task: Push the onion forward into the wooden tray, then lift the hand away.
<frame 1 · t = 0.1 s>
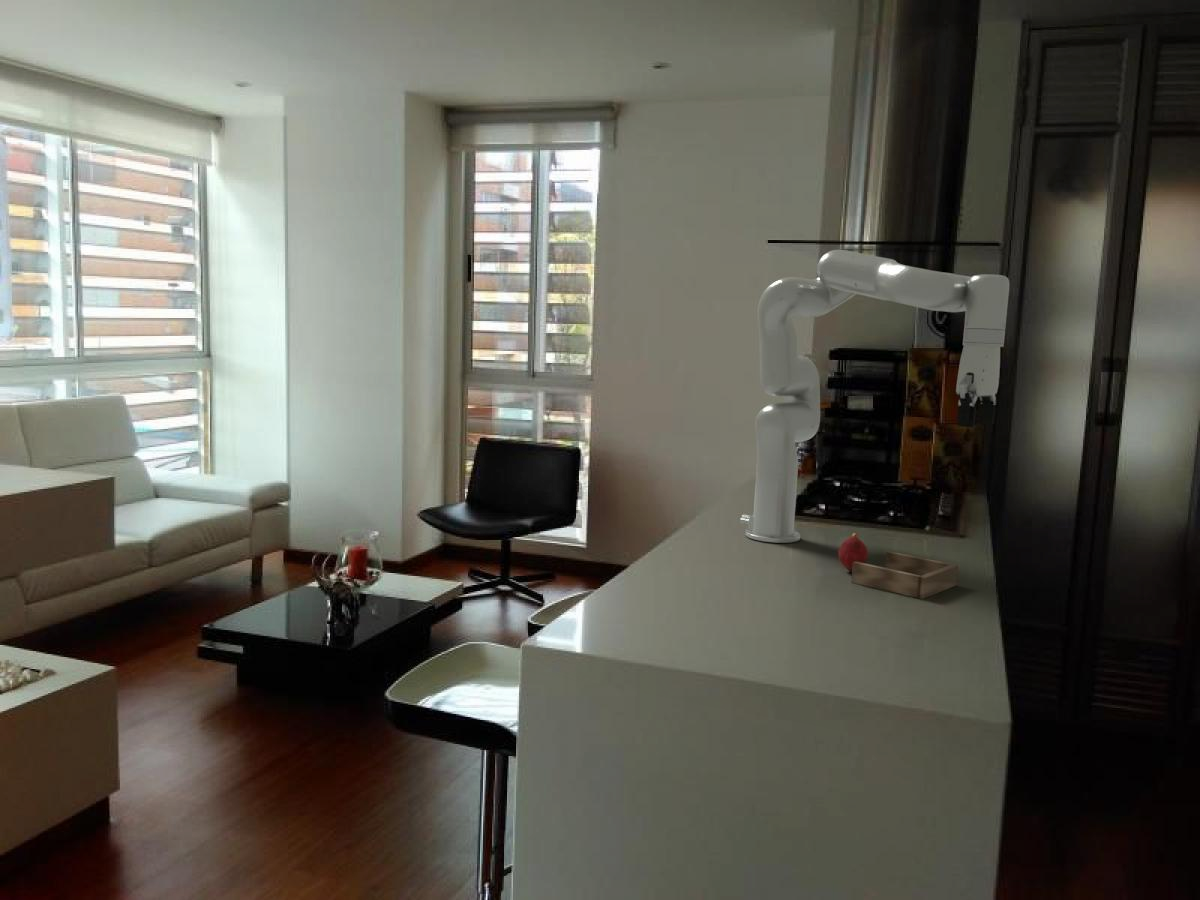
hand: (975, 425, 190), 31 cm above the countertop, tool pointing down, fingers open, 9 cm apart
wooden tray: (902, 583, 188), on the countertop
onion: (851, 572, 196), on the countertop
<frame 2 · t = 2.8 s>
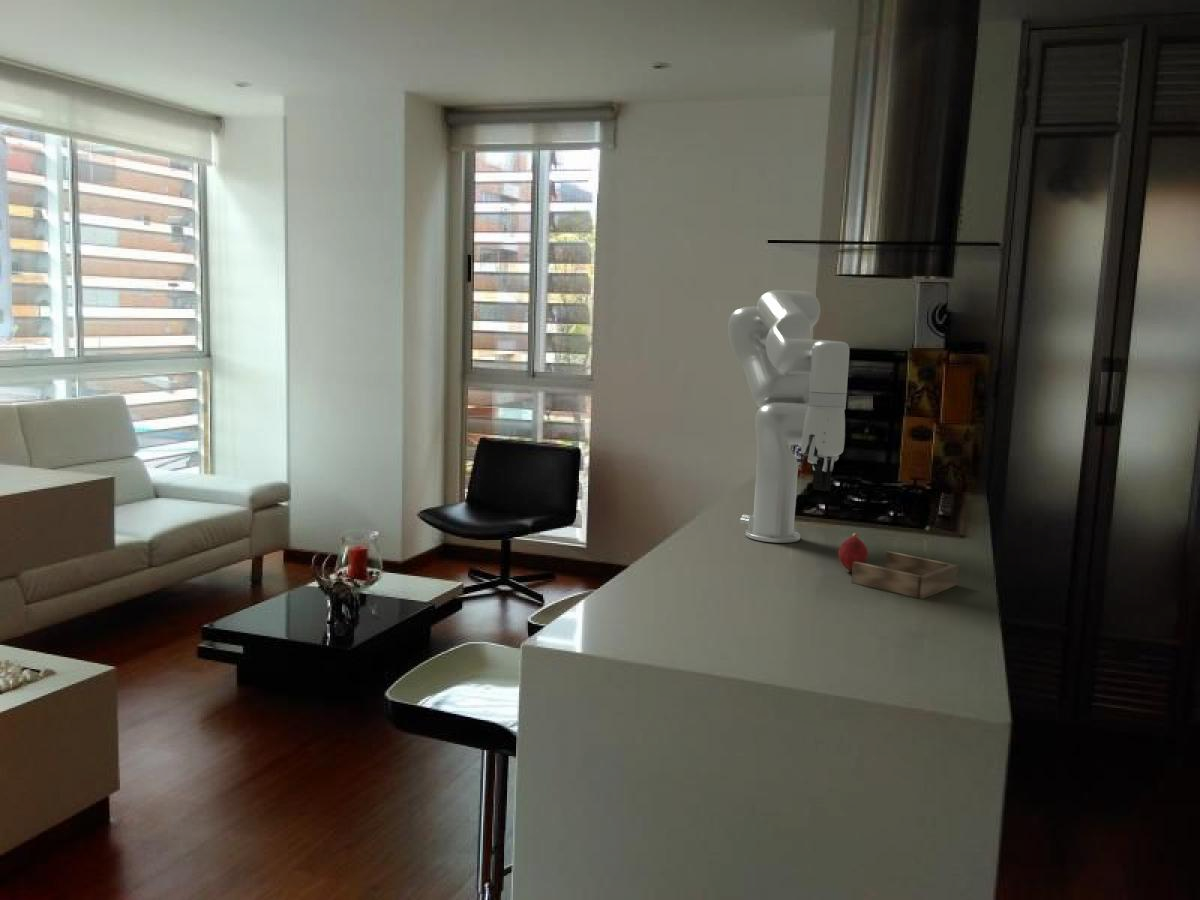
hand: (821, 489, 199), 16 cm above the countertop, tool pointing down, fingers closed
nothing on the countertop moved.
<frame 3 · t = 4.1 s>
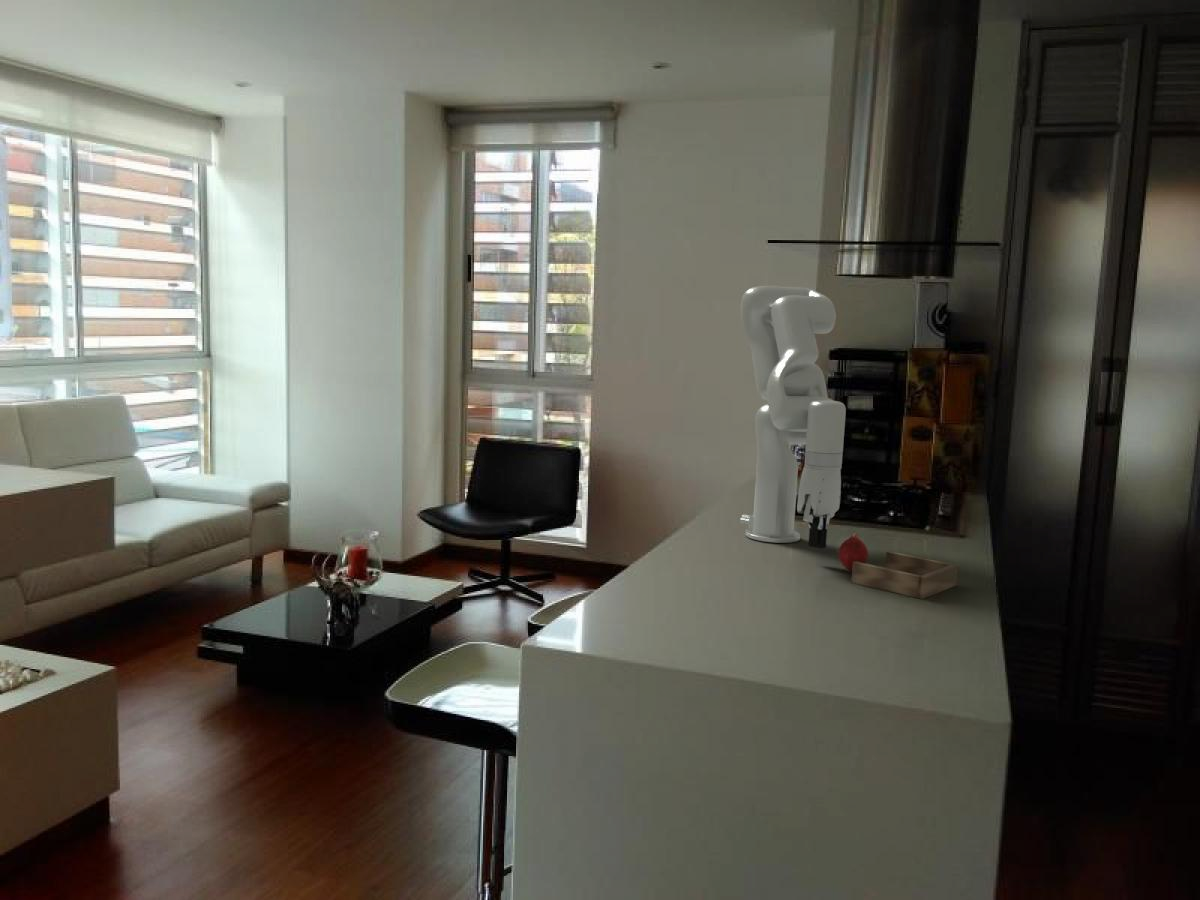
hand: (817, 546, 201), 4 cm above the countertop, tool pointing down, fingers closed
nothing on the countertop moved.
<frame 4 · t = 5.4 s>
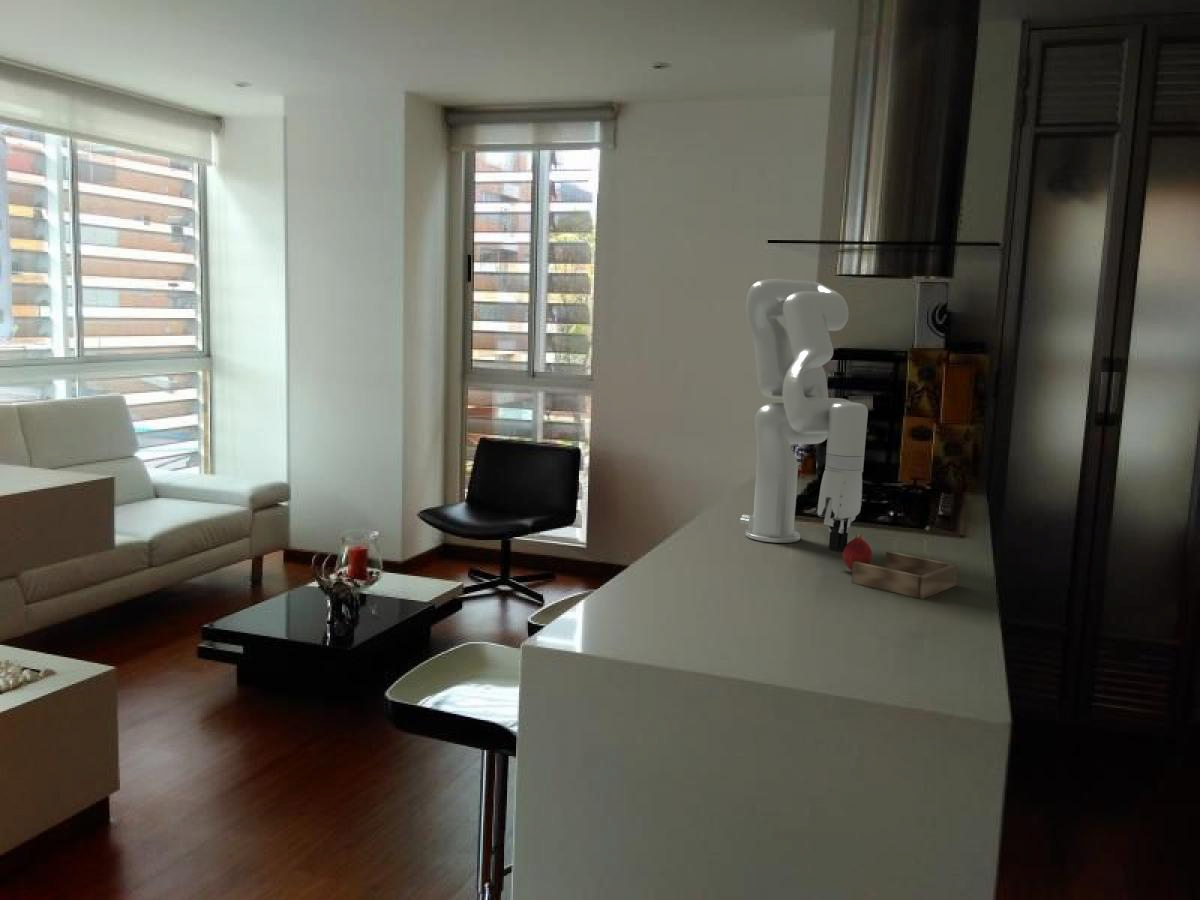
hand: (837, 550, 197), 4 cm above the countertop, tool pointing down, fingers closed
onion: (855, 573, 195), on the countertop, touching gripper
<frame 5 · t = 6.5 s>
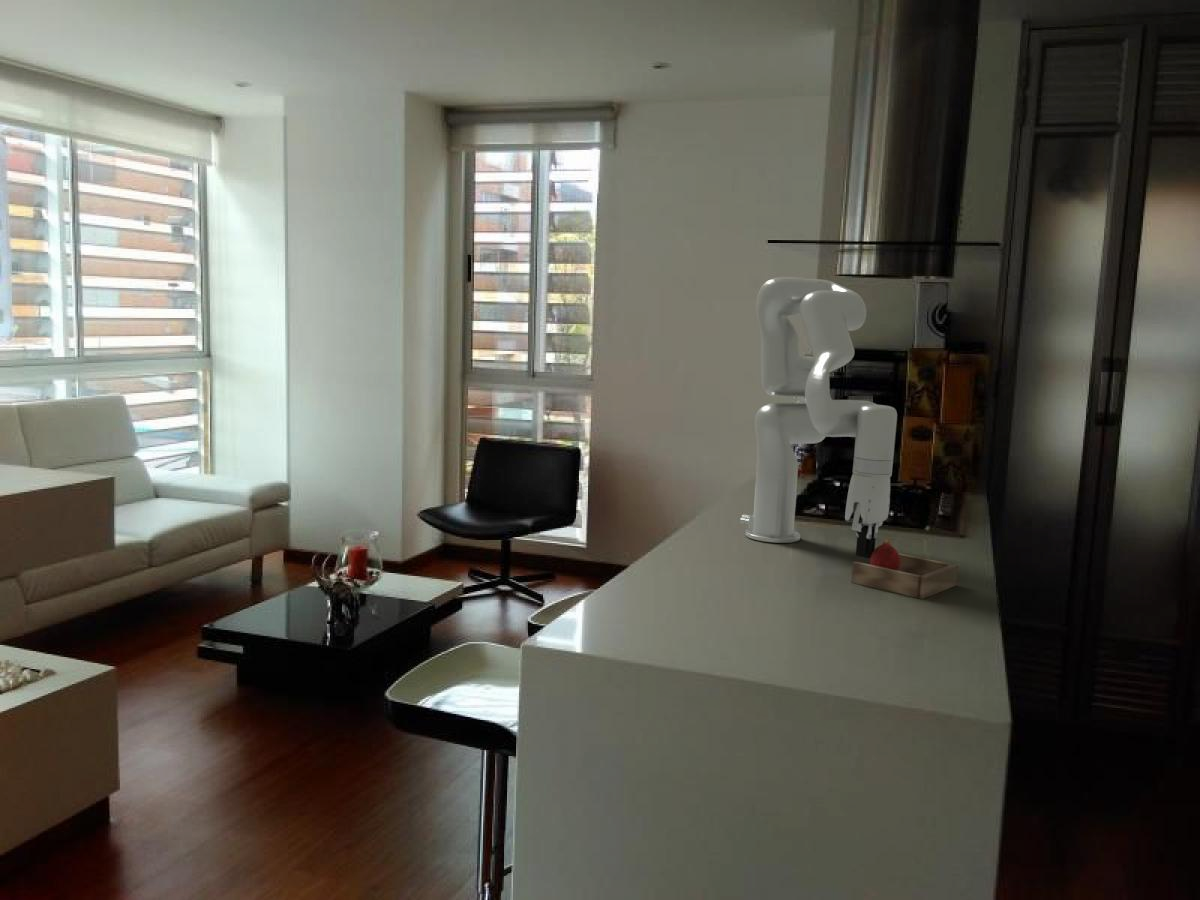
hand: (864, 556, 193), 4 cm above the countertop, tool pointing down, fingers closed
onion: (883, 580, 191), on the countertop, touching gripper
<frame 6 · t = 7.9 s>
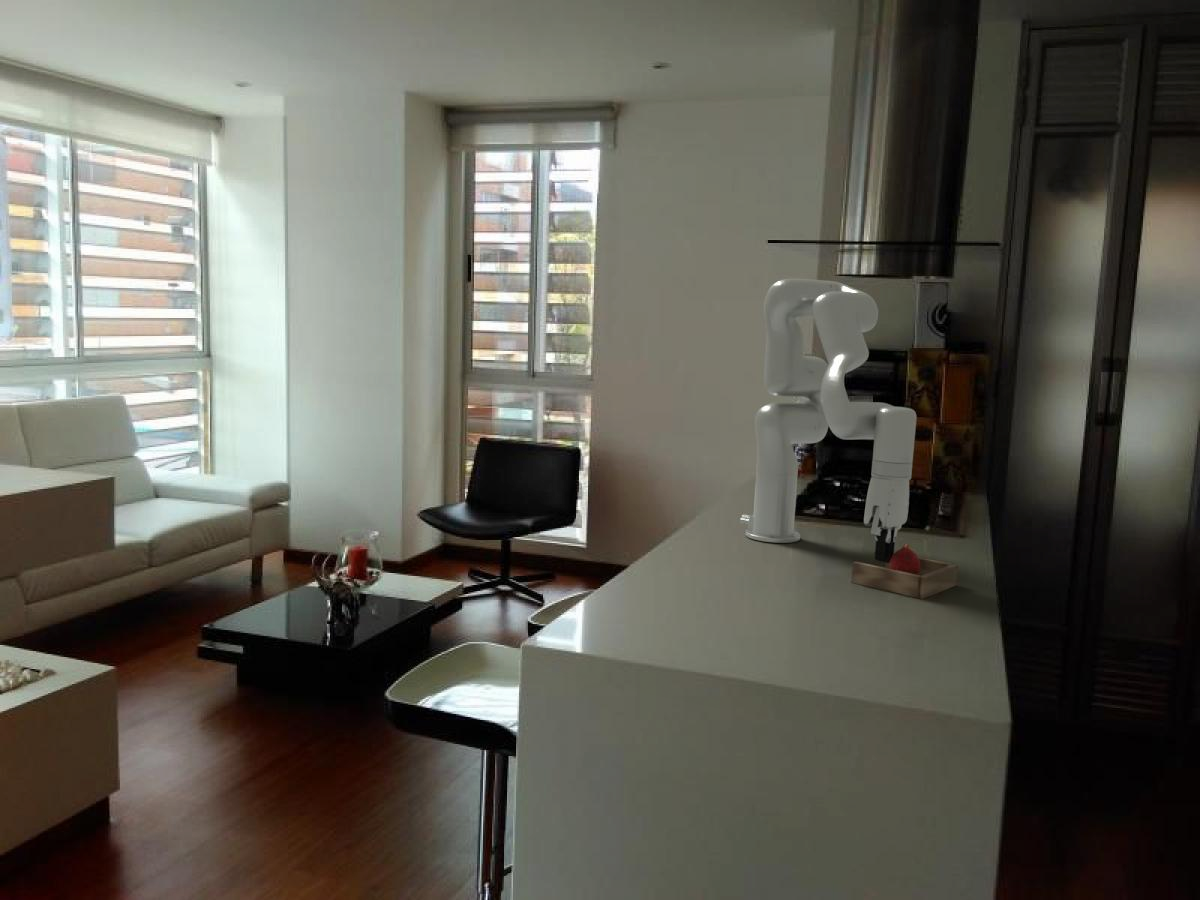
hand: (883, 560, 191), 4 cm above the countertop, tool pointing down, fingers closed
onion: (903, 584, 188), on the countertop, touching gripper
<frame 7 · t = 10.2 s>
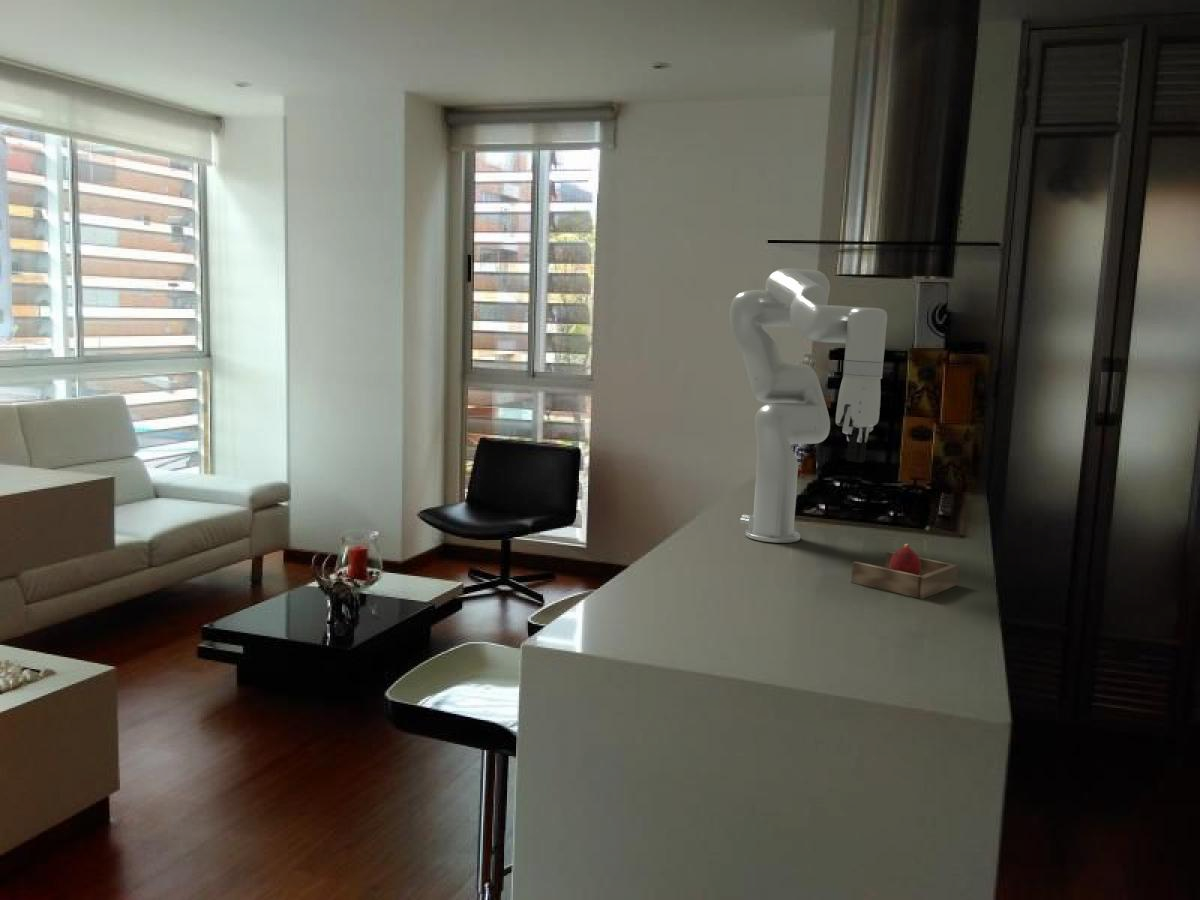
hand: (855, 461, 193), 23 cm above the countertop, tool pointing down, fingers closed
onion: (903, 584, 188), on the countertop
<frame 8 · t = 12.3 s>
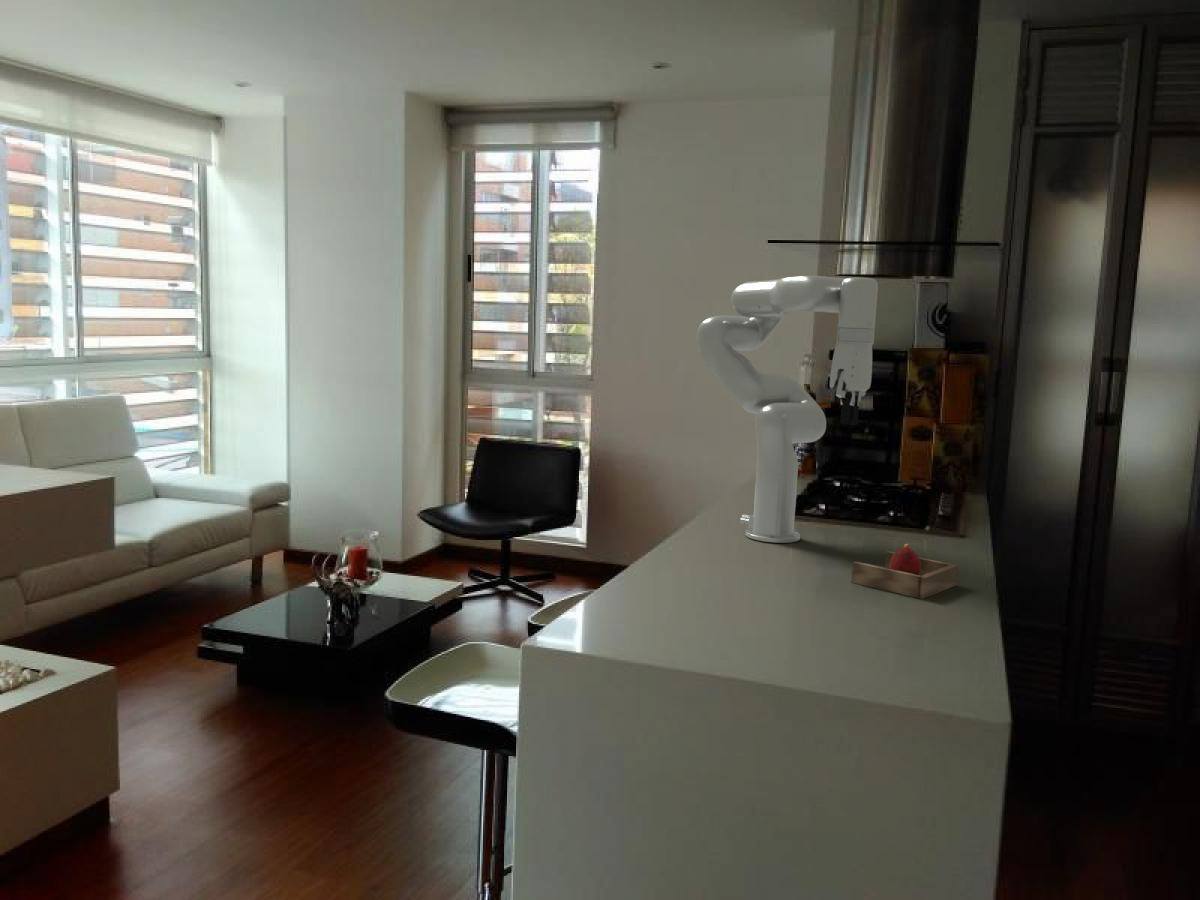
hand: (848, 423, 204), 29 cm above the countertop, tool pointing down, fingers closed
nothing on the countertop moved.
at the end: onion inside the target area on the wooden tray (0.6 cm from its centre), point 0.0 cm above the wooden tray's base; onion moved 11.3 cm from its start; the gripper is holding nothing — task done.
